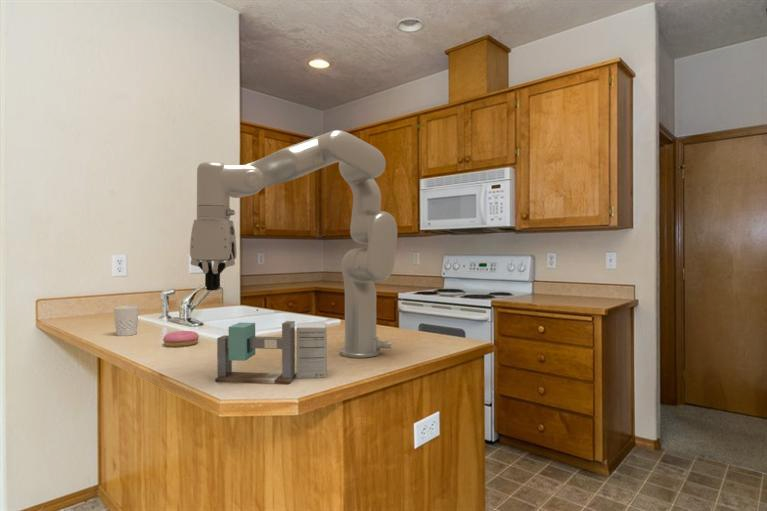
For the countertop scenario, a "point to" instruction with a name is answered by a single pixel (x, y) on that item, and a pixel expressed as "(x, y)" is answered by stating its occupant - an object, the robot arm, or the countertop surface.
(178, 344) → the doughnut
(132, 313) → the white cup
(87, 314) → the countertop surface
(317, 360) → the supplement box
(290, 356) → the rail
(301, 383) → the countertop surface
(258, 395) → the countertop surface
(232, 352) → the teal sliding block
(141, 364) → the countertop surface
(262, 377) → the board
